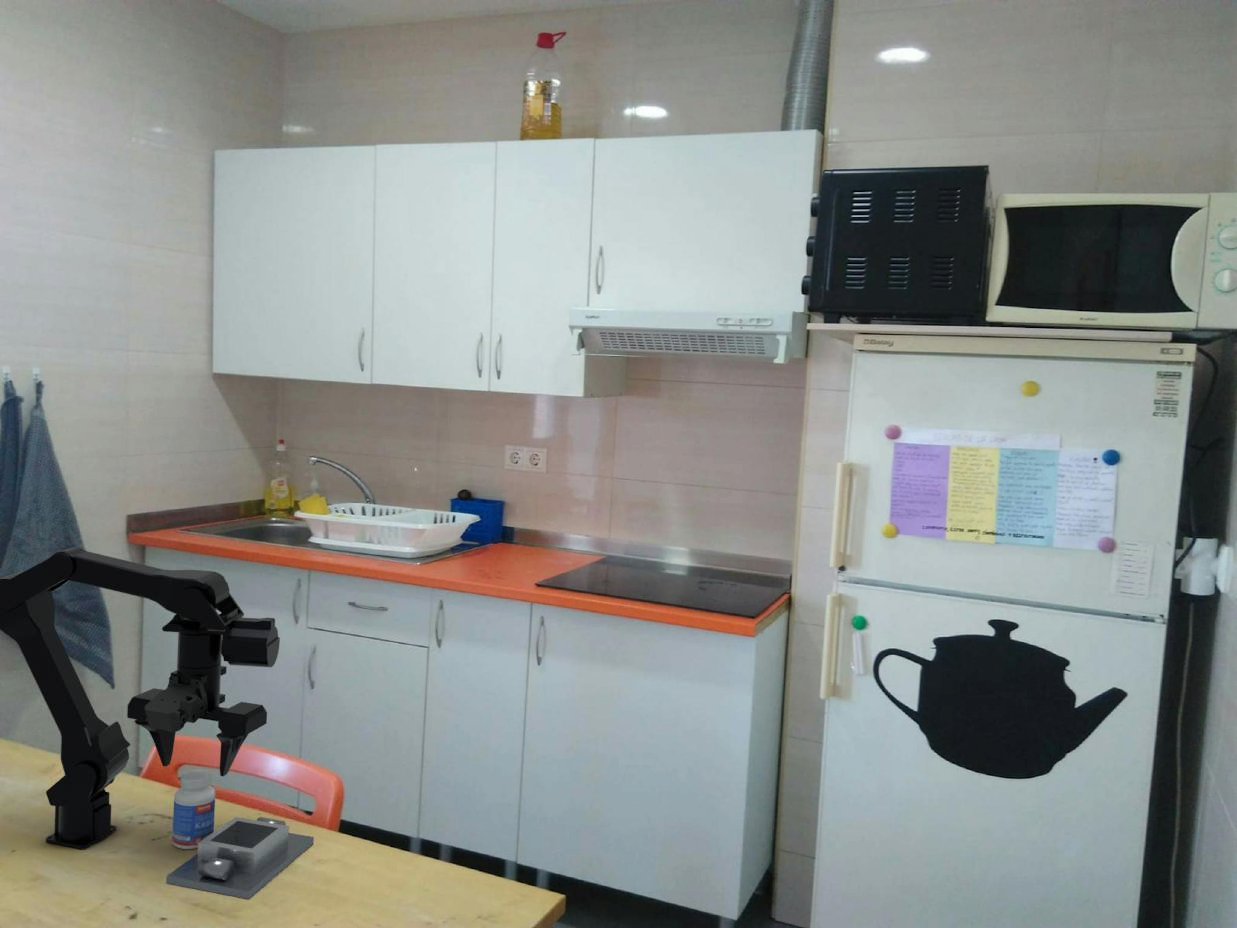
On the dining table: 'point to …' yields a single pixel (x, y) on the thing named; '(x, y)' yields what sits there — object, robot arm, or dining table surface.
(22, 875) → the dining table surface
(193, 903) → the dining table surface
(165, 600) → the robot arm
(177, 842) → the pill bottle
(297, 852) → the base
